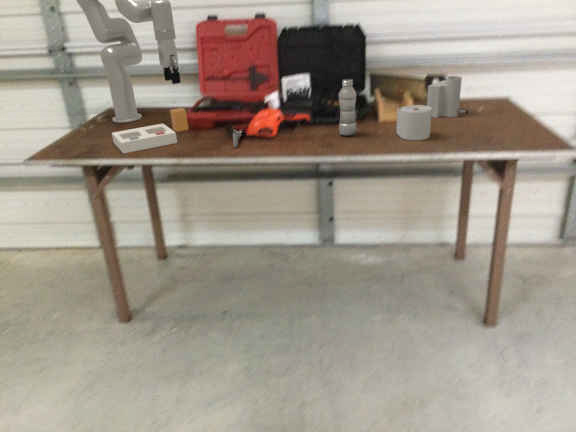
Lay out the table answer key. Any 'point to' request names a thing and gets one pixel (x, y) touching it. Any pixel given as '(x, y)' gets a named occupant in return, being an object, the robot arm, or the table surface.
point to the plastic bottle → (347, 108)
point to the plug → (179, 119)
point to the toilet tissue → (414, 122)
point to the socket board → (144, 138)
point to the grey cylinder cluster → (445, 97)
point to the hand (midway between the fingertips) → (172, 81)
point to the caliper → (236, 137)
